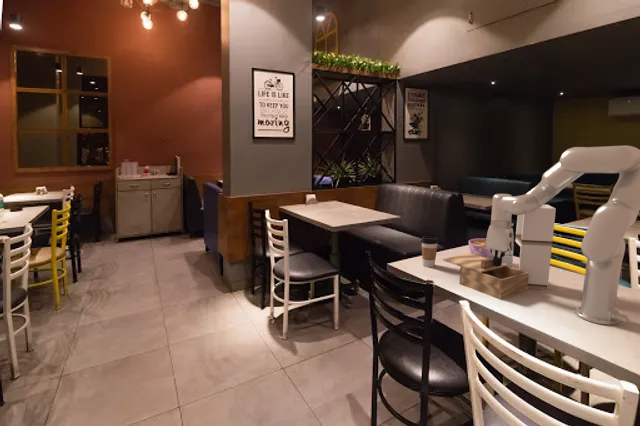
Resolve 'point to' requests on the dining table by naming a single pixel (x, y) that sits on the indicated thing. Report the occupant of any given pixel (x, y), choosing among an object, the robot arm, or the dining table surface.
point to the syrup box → (508, 259)
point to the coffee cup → (429, 250)
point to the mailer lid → (473, 262)
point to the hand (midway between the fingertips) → (497, 265)
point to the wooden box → (496, 281)
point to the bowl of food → (479, 248)
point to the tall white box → (536, 244)
